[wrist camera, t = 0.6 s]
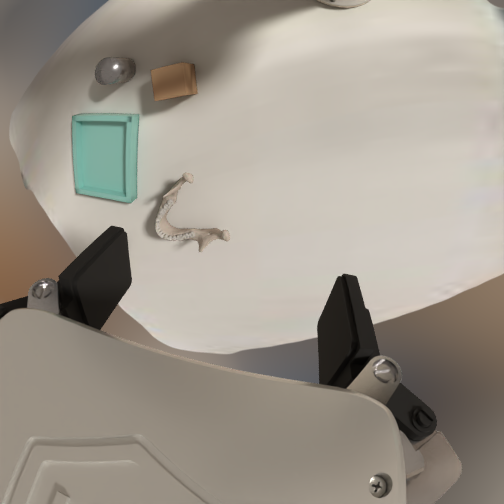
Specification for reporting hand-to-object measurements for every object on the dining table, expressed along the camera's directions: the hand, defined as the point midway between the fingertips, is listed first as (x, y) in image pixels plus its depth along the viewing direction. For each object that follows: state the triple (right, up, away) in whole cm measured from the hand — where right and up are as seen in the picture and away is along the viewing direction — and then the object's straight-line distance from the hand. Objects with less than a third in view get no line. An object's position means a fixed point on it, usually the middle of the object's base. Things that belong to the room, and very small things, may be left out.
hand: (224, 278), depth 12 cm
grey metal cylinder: (-20, +32, +24) cm, 44 cm away
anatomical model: (-10, +9, +37) cm, 39 cm away
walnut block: (-10, +28, +24) cm, 38 cm away
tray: (-26, +19, +33) cm, 46 cm away
